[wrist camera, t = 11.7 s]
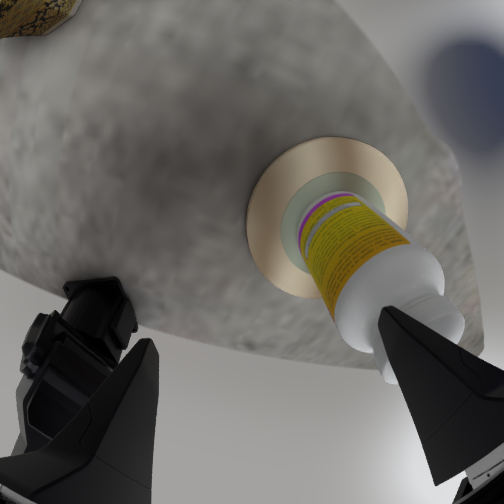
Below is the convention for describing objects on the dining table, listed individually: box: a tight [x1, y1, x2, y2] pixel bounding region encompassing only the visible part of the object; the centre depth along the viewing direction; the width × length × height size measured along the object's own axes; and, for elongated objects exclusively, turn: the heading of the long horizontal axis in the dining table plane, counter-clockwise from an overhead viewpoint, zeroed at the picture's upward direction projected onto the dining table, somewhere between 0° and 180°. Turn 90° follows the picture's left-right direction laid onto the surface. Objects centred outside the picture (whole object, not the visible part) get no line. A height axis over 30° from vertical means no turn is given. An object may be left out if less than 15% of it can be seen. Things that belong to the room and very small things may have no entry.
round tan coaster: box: [246, 136, 408, 299], centre depth 22 cm, size 14×14×1 cm
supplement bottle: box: [297, 191, 465, 384], centre depth 15 cm, size 7×7×13 cm
